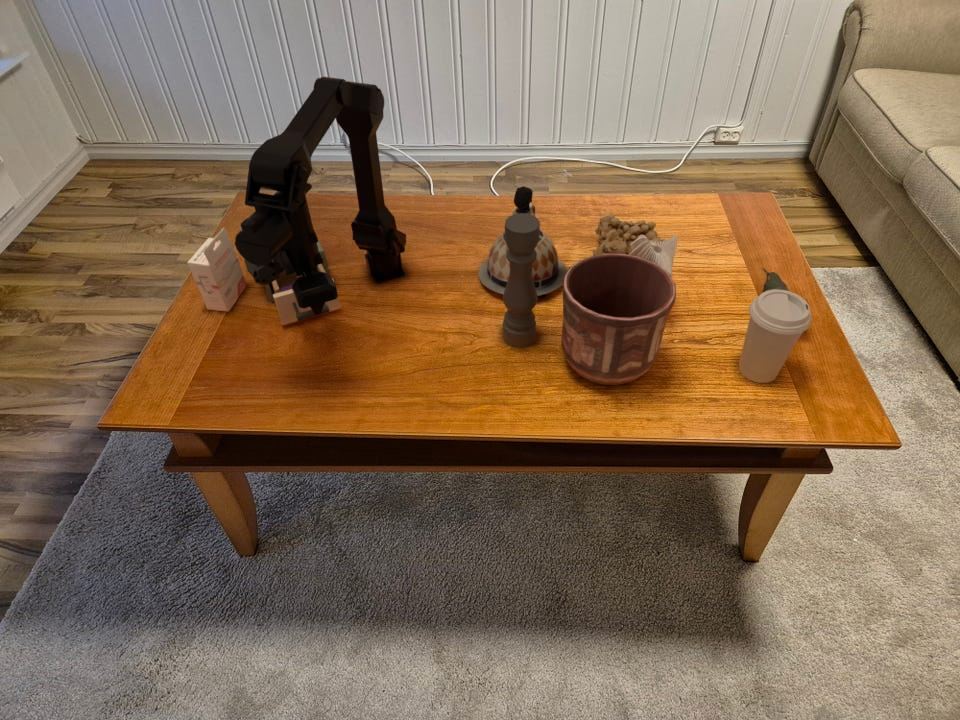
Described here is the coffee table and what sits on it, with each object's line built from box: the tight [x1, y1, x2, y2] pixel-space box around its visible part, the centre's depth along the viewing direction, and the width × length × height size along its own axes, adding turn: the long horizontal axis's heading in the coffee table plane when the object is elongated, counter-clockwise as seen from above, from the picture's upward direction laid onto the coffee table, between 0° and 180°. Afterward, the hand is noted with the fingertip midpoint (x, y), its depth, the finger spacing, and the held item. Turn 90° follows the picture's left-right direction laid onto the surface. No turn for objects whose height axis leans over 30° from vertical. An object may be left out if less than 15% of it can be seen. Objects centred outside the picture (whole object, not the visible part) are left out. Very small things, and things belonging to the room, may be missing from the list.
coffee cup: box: [738, 289, 812, 384], centre depth 111 cm, size 10×10×15 cm
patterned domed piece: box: [477, 185, 568, 299], centre depth 130 cm, size 18×18×20 cm
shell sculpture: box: [629, 234, 679, 279], centre depth 122 cm, size 8×8×18 cm
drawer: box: [271, 264, 341, 326], centre depth 128 cm, size 18×11×7 cm, turn 25°
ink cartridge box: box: [186, 227, 248, 312], centre depth 128 cm, size 9×5×15 cm, turn 168°
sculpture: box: [761, 267, 790, 293], centre depth 126 cm, size 5×19×5 cm, turn 3°
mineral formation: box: [592, 213, 667, 259], centre depth 138 cm, size 8×13×15 cm
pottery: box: [560, 254, 677, 386], centre depth 112 cm, size 18×18×18 cm
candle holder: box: [502, 213, 541, 349], centre depth 115 cm, size 6×6×25 cm
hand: (314, 304), depth 113 cm, fingers open, 5 cm apart
